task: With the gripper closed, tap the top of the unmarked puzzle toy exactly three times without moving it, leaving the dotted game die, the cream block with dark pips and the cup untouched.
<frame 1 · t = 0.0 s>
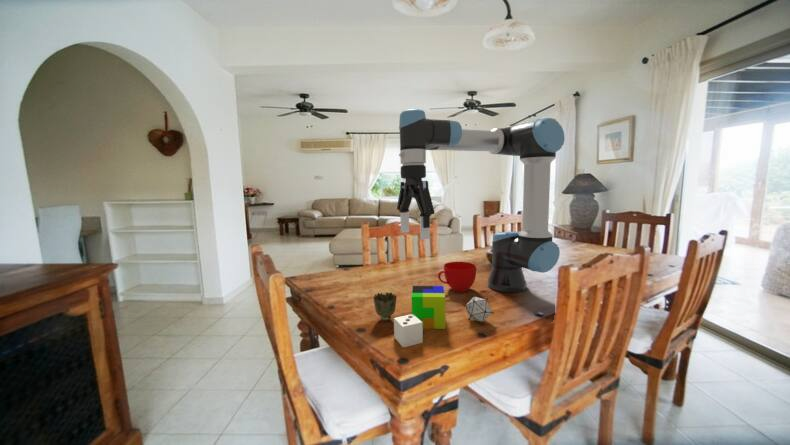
hand: (414, 235, 94), 28 cm above the table, tool pointing down, fingers open, 13 cm apart
game die: (478, 321, 97), on the table
ceramic cup: (456, 290, 126), on the table
puzzle toy: (428, 321, 98), on the table
cup: (385, 320, 100), on the table
pip block: (408, 340, 87), on the table
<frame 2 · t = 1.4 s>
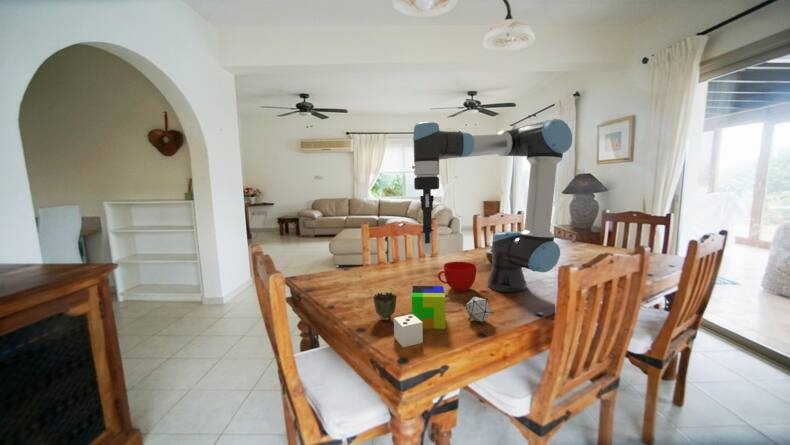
hand: (427, 252, 95), 22 cm above the table, tool pointing down, fingers closed
nothing on the table moved.
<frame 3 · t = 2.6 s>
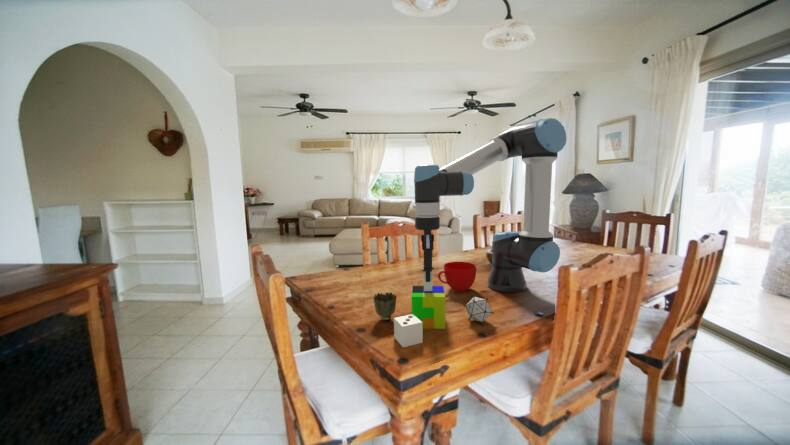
hand: (428, 290, 97), 10 cm above the table, tool pointing down, fingers closed
puzzle toy: (428, 321, 98), on the table, touching gripper
everything else where it was.
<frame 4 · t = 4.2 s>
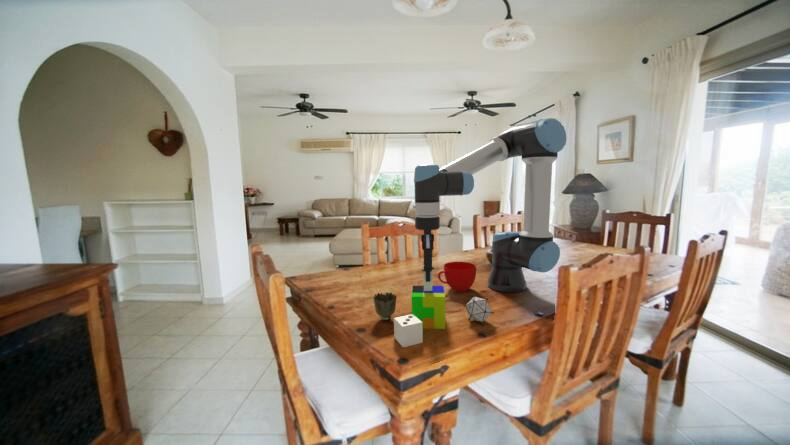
hand: (428, 290, 97), 10 cm above the table, tool pointing down, fingers closed
nothing on the table moved.
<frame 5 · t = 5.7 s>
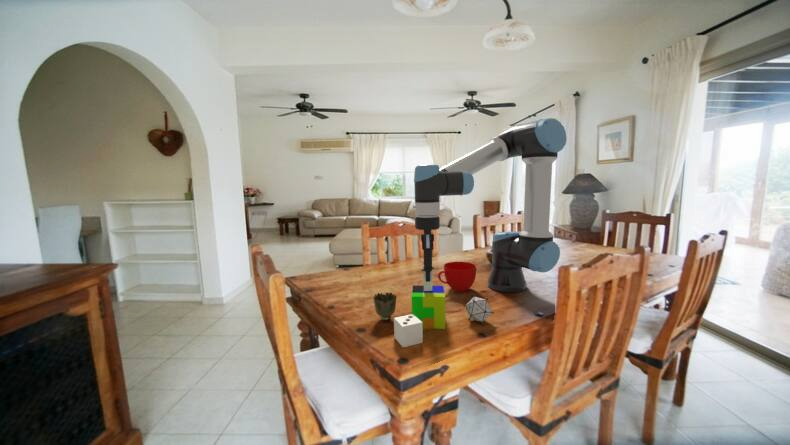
hand: (428, 290, 97), 10 cm above the table, tool pointing down, fingers closed
nothing on the table moved.
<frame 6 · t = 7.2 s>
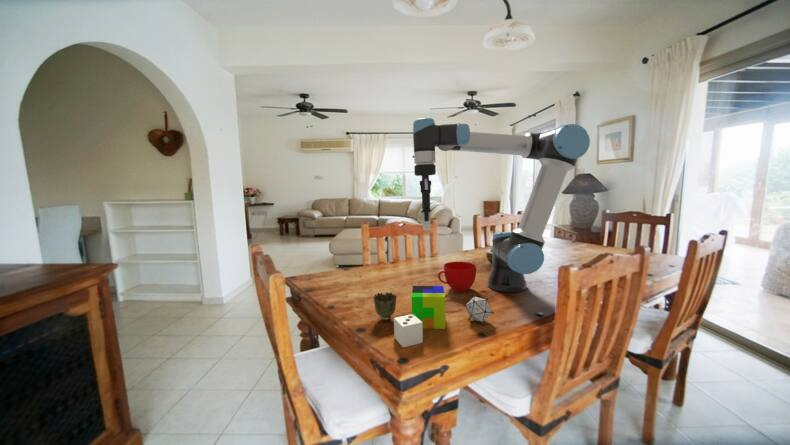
hand: (426, 229, 112), 27 cm above the table, tool pointing down, fingers closed
puzzle toy: (428, 321, 98), on the table
everything else where it was.
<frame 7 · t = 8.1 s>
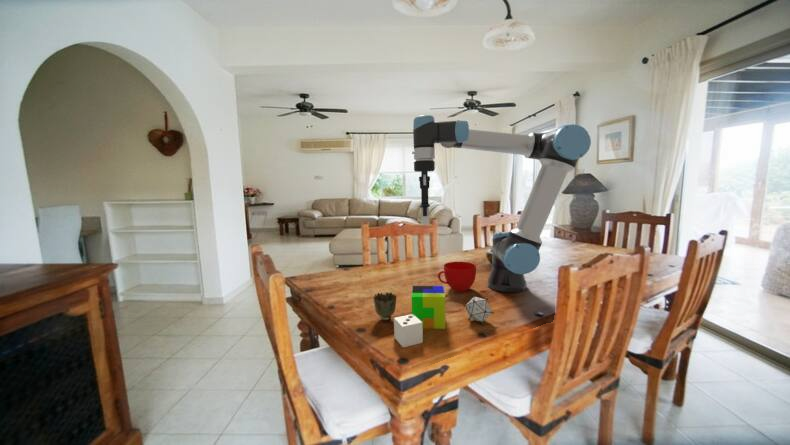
hand: (425, 224, 115), 28 cm above the table, tool pointing down, fingers closed
nothing on the table moved.
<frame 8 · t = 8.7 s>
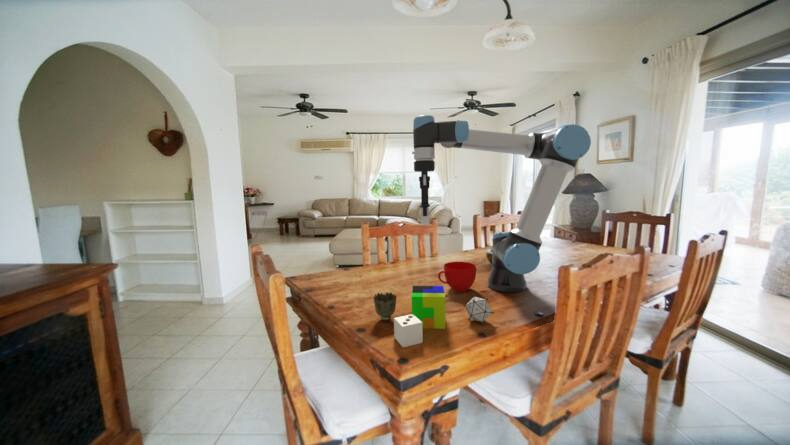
hand: (425, 224, 115), 28 cm above the table, tool pointing down, fingers closed
nothing on the table moved.
at the end: puzzle toy moved 0.3 cm from its start; puzzle toy tilted 0°; pip block moved 0.1 cm from its start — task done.
